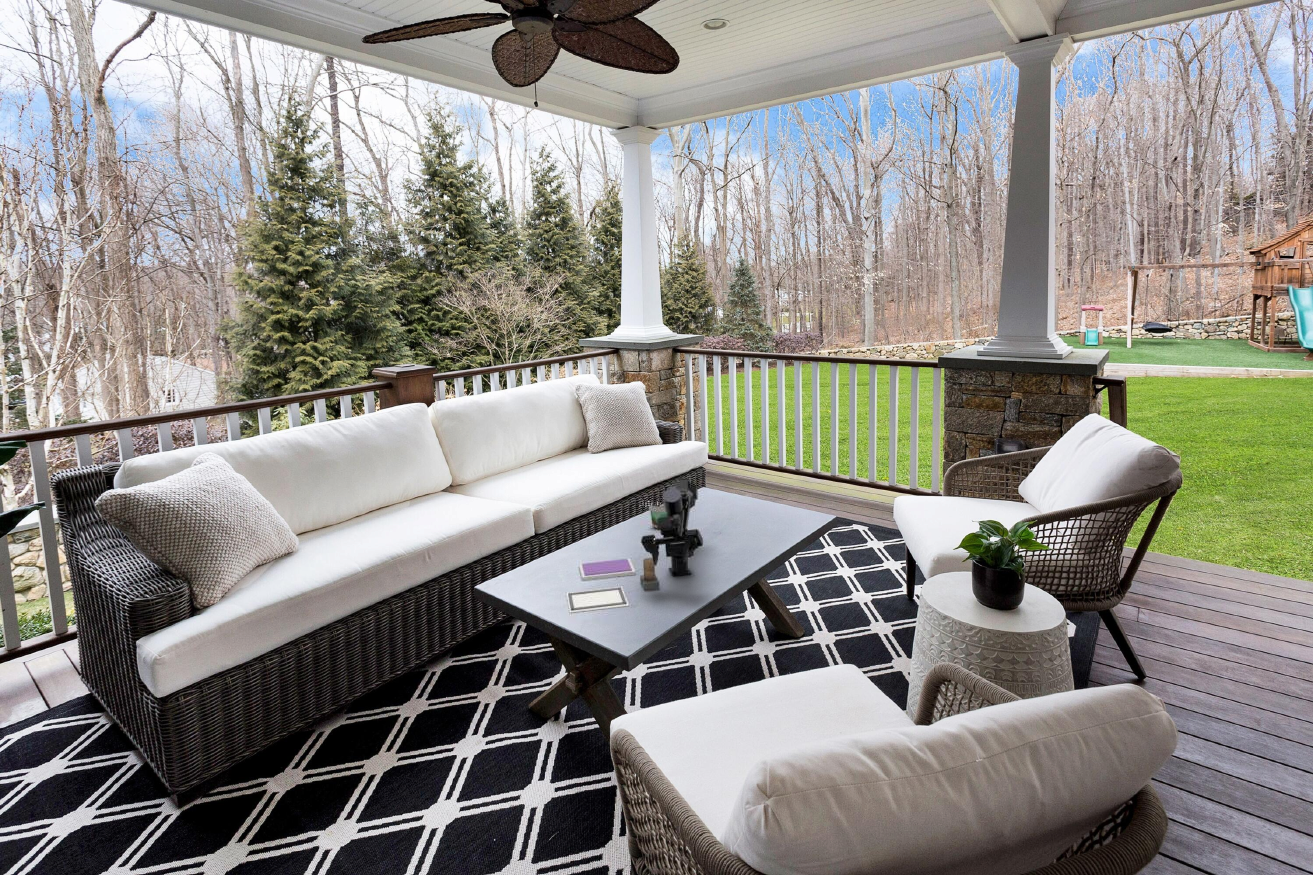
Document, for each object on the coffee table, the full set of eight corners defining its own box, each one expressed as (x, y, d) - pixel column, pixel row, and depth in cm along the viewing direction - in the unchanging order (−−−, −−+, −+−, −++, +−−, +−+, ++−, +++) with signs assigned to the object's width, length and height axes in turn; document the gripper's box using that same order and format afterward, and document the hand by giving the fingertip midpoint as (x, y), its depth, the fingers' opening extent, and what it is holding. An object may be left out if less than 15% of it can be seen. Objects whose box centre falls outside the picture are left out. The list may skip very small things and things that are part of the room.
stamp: (640, 582, 228) (639, 556, 226) (655, 580, 228) (654, 555, 227) (644, 591, 221) (643, 564, 219) (659, 589, 222) (658, 562, 220)
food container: (655, 532, 274) (654, 508, 272) (649, 528, 279) (648, 504, 277) (683, 528, 278) (682, 504, 276) (677, 523, 284) (676, 500, 282)
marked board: (566, 593, 220) (566, 592, 220) (622, 587, 224) (621, 585, 224) (569, 613, 207) (569, 611, 207) (628, 606, 210) (628, 604, 210)
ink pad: (579, 567, 242) (578, 562, 241) (629, 561, 245) (629, 557, 245) (582, 580, 230) (582, 576, 230) (635, 574, 234) (635, 570, 233)
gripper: (638, 510, 218) (631, 551, 207) (694, 502, 212) (690, 544, 201) (650, 531, 225) (644, 572, 214) (704, 524, 219) (701, 565, 208)
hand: (669, 563), depth 209 cm, fingers open, 9 cm apart
